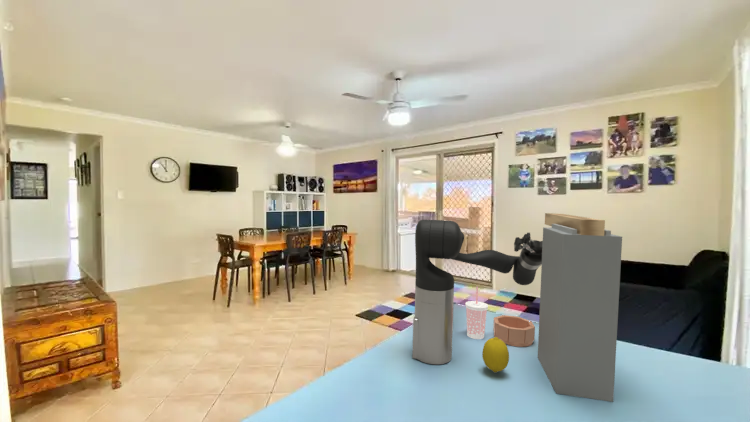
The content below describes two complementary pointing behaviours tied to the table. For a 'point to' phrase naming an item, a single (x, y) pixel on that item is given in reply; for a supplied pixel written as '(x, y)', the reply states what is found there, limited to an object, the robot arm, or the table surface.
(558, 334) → the shelf block
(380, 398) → the table surface
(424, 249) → the robot arm
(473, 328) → the beverage cup
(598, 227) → the slat
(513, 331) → the bowl
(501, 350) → the lemon
